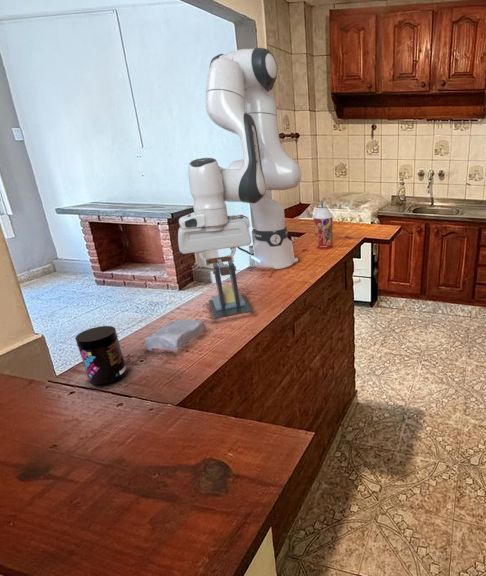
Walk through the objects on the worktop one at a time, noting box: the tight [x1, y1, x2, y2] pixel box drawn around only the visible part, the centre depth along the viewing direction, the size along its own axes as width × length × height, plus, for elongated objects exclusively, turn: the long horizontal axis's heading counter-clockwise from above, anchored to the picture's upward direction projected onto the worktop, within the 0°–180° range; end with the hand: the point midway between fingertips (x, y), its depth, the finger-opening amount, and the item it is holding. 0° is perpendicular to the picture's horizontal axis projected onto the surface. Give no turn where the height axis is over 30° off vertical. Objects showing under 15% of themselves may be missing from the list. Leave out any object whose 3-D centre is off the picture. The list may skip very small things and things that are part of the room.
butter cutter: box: [208, 260, 254, 320], centre depth 111 cm, size 14×10×14 cm
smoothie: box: [312, 200, 334, 250], centre depth 172 cm, size 8×8×20 cm
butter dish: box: [211, 284, 246, 311], centre depth 115 cm, size 10×8×4 cm
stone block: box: [144, 318, 206, 352], centre depth 96 cm, size 12×5×10 cm
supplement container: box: [75, 325, 128, 388], centre depth 80 cm, size 7×7×10 cm
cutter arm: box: [209, 255, 230, 277], centre depth 114 cm, size 14×6×2 cm, turn 27°
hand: (219, 263), depth 120 cm, fingers closed on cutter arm, 5 cm apart
